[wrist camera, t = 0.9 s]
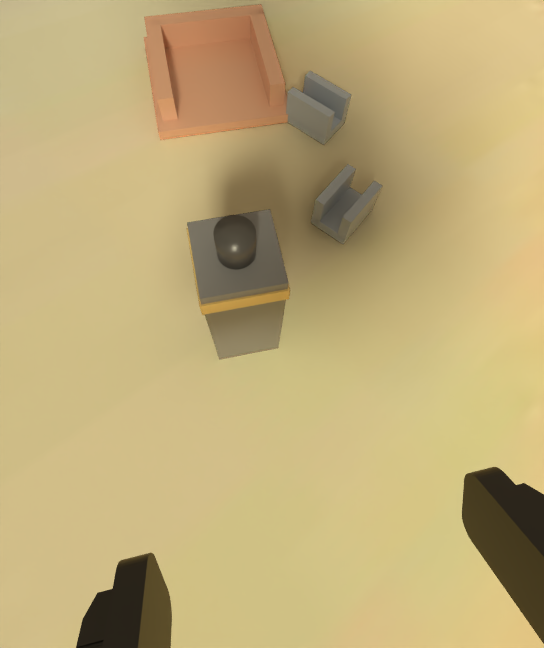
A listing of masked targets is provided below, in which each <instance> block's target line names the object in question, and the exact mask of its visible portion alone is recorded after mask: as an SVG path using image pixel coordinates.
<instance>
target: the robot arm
mask: <svg viewBox="0 0 544 648" xmlns="http://www.w3.org/2000/svg"><path fill="white" fill-rule="evenodd" d="M462 519H463V523H464V527H465V529H466V532H467V534H468V536H469V537H470V539H471V541H472V542H473V544H474V545H475V547H476V548H477V549H478V551H479V552H480V554H481V555H482V556H483V558H484V559H485V561H486V562H487V564H488V565H489V566H490V568H491V569H492V571H493V572H494V574H495V575H496V576H497V578H498V579H499V581H500V582H501V584H502V585H503V586H504V588H505V589H506V591H507V592H508V594H509V595H510V596H511V598H512V599H513V601H514V602H515V603H516V605H517V606H518V608H519V609H520V611H521V612H522V613H523V615H524V616H525V618H526V619H527V621H528V622H529V623H530V625H531V626H532V628H533V629H534V631H535V632H536V633H537V635H538V636H539V638H540V639H541V641H542V642H543V643H544V495H543V494H542V493H540V492H538V491H537V490H535V489H533V488H532V487H530V486H528V485H527V484H525V483H523V484H519V485H515V484H514V483H513V482H512V481H511V479H510V478H509V477H508V476H507V475H506V474H505V473H504V472H503V471H502V470H500V469H499V468H497V467H491V468H488V469H484V470H480V471H476V472H472V473H468V474H466V475H465V479H464V492H463V505H462ZM171 624H172V612H171V602H170V596H169V592H168V589H167V586H166V584H165V581H164V579H163V576H162V574H161V571H160V569H159V566H158V564H157V561H156V558H155V556H154V554H153V553H148V554H144V555H140V556H136V557H132V558H128V559H124V560H121V561H120V562H119V563H118V565H117V569H116V574H115V579H114V585H113V589H111V590H107V591H103V592H99V593H97V595H96V597H95V598H94V600H93V602H92V604H91V605H90V607H89V609H88V611H87V613H86V614H85V616H84V618H83V620H82V625H81V629H80V633H79V638H78V642H77V646H76V648H170V646H171Z"/></svg>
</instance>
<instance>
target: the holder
mask: <svg viewBox="0 0 544 648" xmlns="http://www.w3.org/2000/svg"><path fill="white" fill-rule="evenodd" d="M144 18H145V24H146V31H147V37H144V42H145V48H146V55H147V61H148V68H149V74H150V81H151V87H152V94H153V100H154V107H155V113H156V120H157V126H158V133H159V136H160V140H163V139H170V138H177V137H185V136H192V135H199V134H206V133H214V132H221V131H228V130H235V129H242V128H250V127H257V126H264V125H271V124H279V123H286V122H288V114H287V113H286V107H287V94H286V91H285V81H284V78H283V75H282V71H281V68H280V65H279V61H278V58H277V55H276V52H275V48H274V45H273V42H272V38H271V35H270V32H269V28H268V25H267V22H266V19H265V15H264V12H263V9H262V5H261V4H260V5H250V6H241V7H232V8H222V9H213V10H204V11H194V12H185V13H175V14H166V15H157V16H147V17H144Z"/></svg>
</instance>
